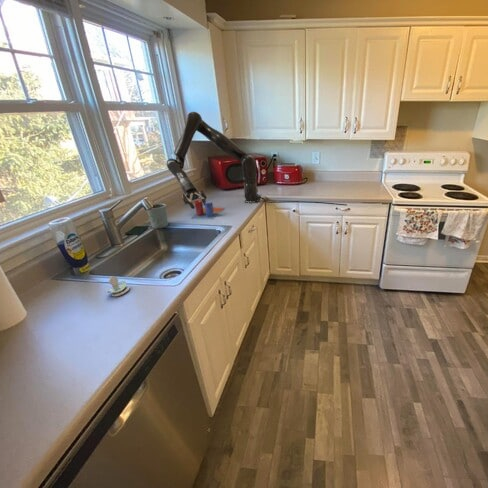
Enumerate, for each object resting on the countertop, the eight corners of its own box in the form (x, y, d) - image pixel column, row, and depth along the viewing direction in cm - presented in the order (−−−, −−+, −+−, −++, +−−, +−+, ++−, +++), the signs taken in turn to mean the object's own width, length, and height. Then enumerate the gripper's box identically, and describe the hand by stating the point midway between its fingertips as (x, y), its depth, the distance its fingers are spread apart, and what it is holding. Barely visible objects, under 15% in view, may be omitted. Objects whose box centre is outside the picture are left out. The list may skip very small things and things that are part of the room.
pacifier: (134, 288, 105) (121, 285, 106) (130, 274, 102) (117, 271, 104) (117, 299, 98) (103, 296, 100) (112, 284, 96) (98, 281, 97)
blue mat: (217, 213, 184) (217, 213, 184) (212, 219, 175) (211, 218, 174) (198, 213, 184) (198, 212, 184) (191, 218, 175) (191, 217, 175)
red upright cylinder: (205, 213, 182) (203, 200, 179) (202, 216, 178) (200, 202, 174) (198, 213, 183) (196, 200, 179) (195, 215, 179) (193, 202, 175)
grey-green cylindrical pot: (150, 229, 157) (145, 209, 152) (150, 224, 165) (145, 204, 160) (170, 227, 161) (166, 207, 156) (169, 221, 170) (165, 202, 164)
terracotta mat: (224, 208, 195) (224, 207, 195) (219, 212, 187) (219, 211, 187) (206, 207, 196) (206, 207, 196) (200, 211, 188) (200, 211, 187)
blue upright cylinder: (215, 214, 181) (213, 201, 177) (212, 217, 177) (210, 203, 173) (208, 214, 181) (206, 201, 178) (205, 216, 177) (203, 203, 173)
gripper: (178, 184, 171) (191, 205, 170) (199, 180, 181) (211, 201, 180) (175, 191, 177) (188, 212, 175) (195, 187, 187) (208, 207, 185)
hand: (200, 206), depth 177 cm, fingers open, 8 cm apart
